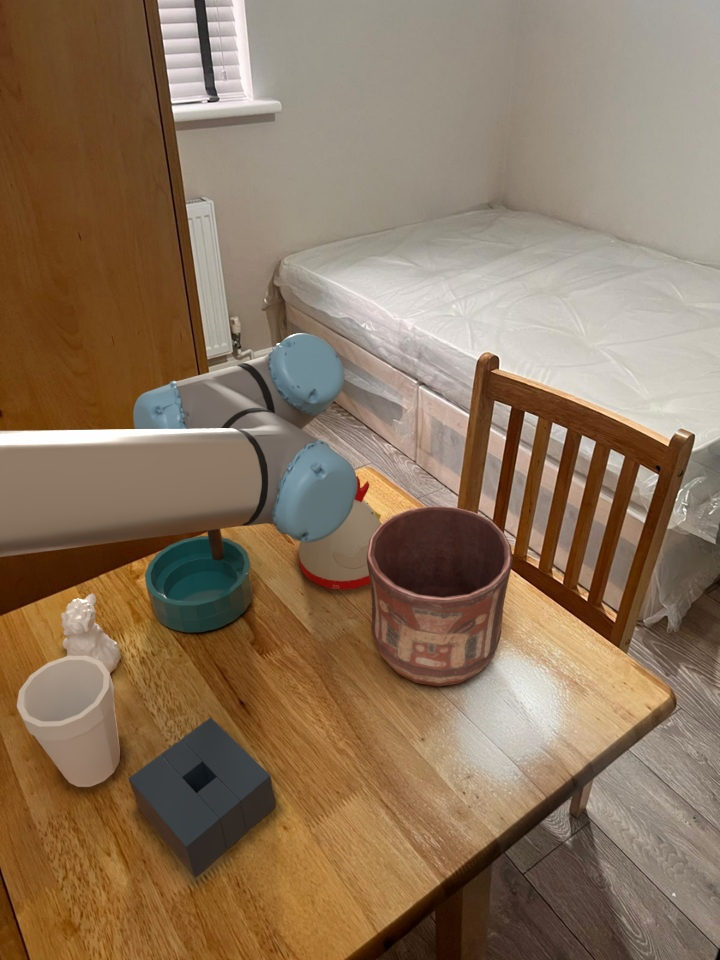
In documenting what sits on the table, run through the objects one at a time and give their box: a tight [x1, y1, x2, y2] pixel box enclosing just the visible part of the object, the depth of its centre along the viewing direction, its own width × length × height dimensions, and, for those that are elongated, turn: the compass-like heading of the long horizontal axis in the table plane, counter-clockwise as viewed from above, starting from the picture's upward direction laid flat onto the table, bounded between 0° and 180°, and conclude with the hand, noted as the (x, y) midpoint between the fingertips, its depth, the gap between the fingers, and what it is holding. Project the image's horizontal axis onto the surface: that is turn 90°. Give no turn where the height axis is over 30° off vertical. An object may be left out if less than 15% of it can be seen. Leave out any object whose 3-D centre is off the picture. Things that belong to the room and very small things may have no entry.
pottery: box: [367, 505, 514, 687], centre depth 92 cm, size 18×18×18 cm
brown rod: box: [206, 529, 225, 561], centre depth 97 cm, size 2×2×22 cm
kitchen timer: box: [298, 475, 382, 591], centre depth 109 cm, size 14×14×15 cm
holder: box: [128, 717, 276, 879], centre depth 78 cm, size 11×11×6 cm
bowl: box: [144, 535, 255, 633], centre depth 105 cm, size 15×15×6 cm
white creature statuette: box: [60, 593, 122, 674], centre depth 93 cm, size 10×9×12 cm
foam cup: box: [16, 655, 121, 788], centre depth 81 cm, size 10×9×13 cm
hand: (191, 487), depth 100 cm, fingers closed on brown rod, 2 cm apart
